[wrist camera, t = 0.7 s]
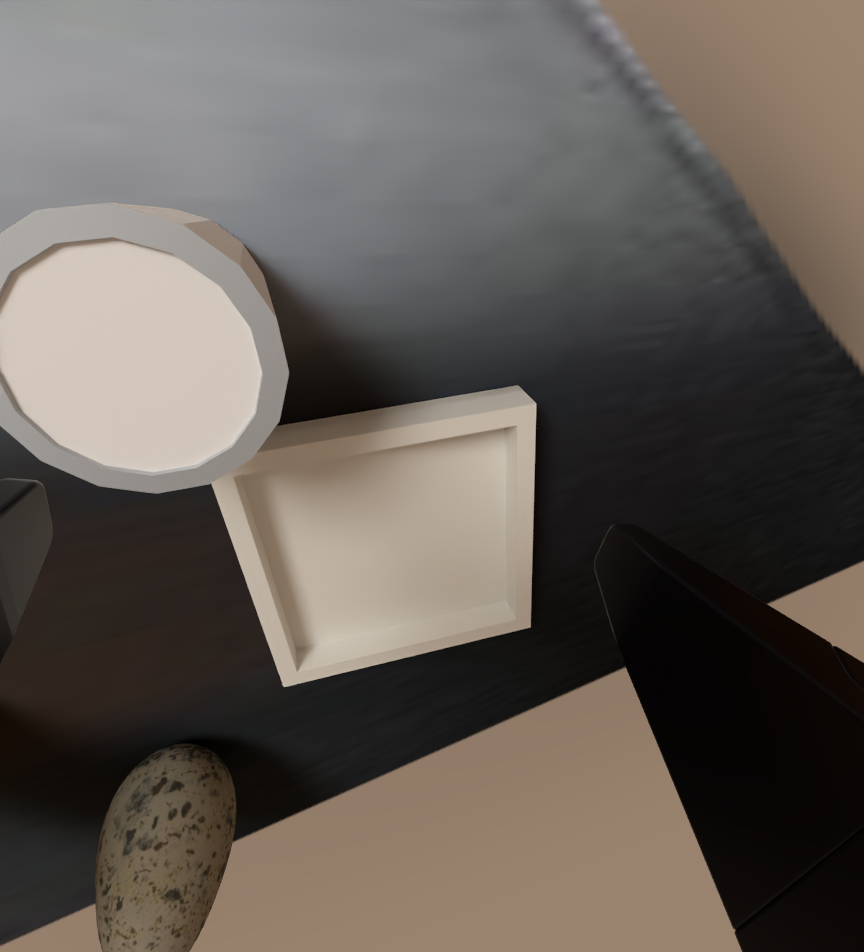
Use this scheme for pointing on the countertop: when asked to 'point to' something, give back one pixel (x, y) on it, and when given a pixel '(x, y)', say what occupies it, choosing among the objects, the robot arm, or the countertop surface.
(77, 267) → the white cup
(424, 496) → the tray
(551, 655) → the countertop surface
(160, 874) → the decorative egg
